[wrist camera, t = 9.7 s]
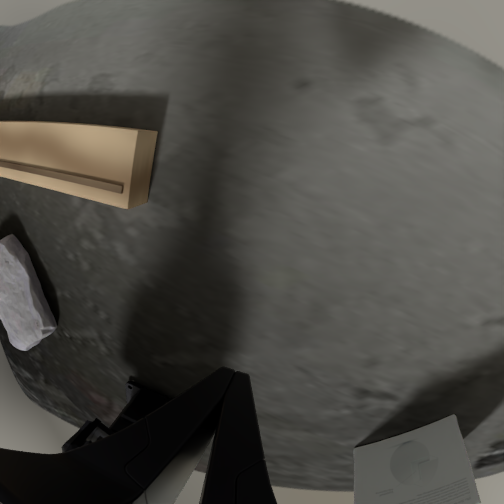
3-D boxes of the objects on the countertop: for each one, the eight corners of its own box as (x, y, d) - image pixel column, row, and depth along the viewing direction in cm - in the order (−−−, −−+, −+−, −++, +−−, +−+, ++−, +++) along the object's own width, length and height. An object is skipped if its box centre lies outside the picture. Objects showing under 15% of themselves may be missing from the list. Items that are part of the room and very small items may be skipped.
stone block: (26, 220, 27) (-12, 263, 28) (-3, 228, 22) (-37, 275, 24) (81, 313, 29) (36, 343, 31) (58, 333, 25) (15, 362, 26)
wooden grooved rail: (147, 202, 21) (114, 214, 17) (-23, 163, 24) (-49, 168, 21) (157, 131, 19) (123, 130, 16) (-20, 121, 23) (-46, 124, 19)
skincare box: (367, 475, 26) (365, 555, 16) (352, 446, 25) (349, 539, 15) (458, 445, 22) (476, 523, 13) (456, 411, 21) (481, 502, 11)
